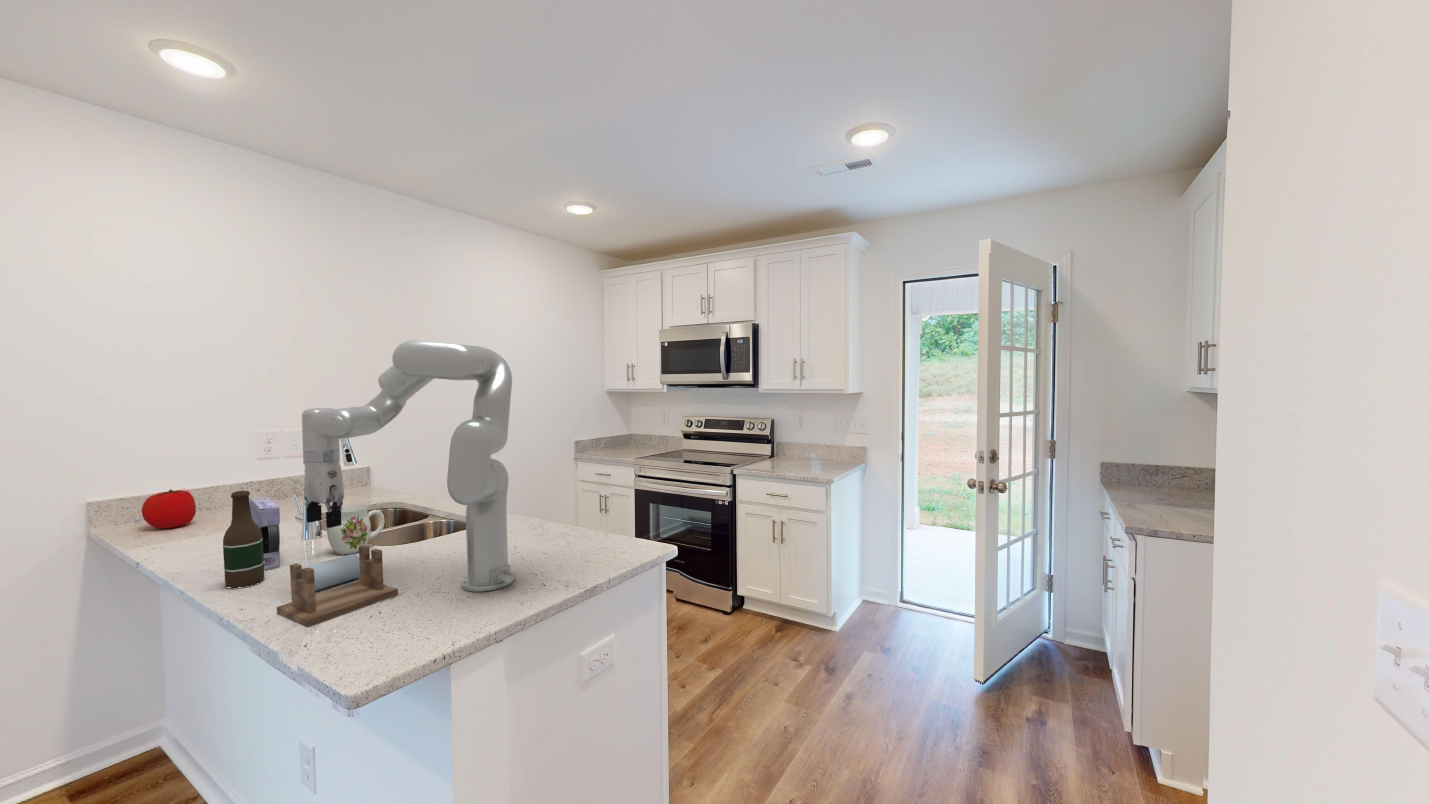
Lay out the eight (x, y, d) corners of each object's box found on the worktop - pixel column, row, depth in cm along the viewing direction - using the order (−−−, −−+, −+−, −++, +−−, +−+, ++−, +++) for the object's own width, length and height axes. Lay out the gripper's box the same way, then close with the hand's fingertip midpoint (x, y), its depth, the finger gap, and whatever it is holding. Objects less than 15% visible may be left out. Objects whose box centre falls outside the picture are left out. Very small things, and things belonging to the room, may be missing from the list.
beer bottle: (241, 578, 143) (236, 488, 142) (272, 577, 144) (267, 487, 143) (216, 590, 135) (211, 495, 134) (250, 588, 136) (244, 494, 135)
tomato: (202, 525, 197) (200, 488, 197) (149, 535, 186) (146, 495, 185) (188, 519, 206) (186, 484, 205) (136, 528, 194) (134, 491, 193)
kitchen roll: (366, 580, 143) (369, 558, 142) (300, 601, 130) (302, 578, 129) (353, 568, 146) (357, 547, 145) (287, 588, 133) (290, 565, 132)
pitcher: (393, 545, 170) (391, 502, 169) (327, 562, 155) (325, 514, 155) (376, 539, 176) (375, 498, 176) (311, 555, 161) (309, 509, 161)
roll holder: (398, 594, 131) (396, 550, 130) (307, 627, 114) (305, 575, 114) (366, 584, 138) (364, 541, 137) (277, 613, 121) (274, 565, 121)
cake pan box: (283, 568, 151) (280, 505, 150) (260, 573, 147) (256, 508, 146) (271, 553, 164) (268, 495, 163) (249, 557, 160) (246, 498, 159)
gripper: (356, 457, 136) (358, 525, 136) (321, 452, 144) (323, 516, 145) (322, 461, 129) (324, 532, 130) (287, 456, 138) (290, 522, 139)
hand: (324, 523), depth 137 cm, fingers open, 9 cm apart
